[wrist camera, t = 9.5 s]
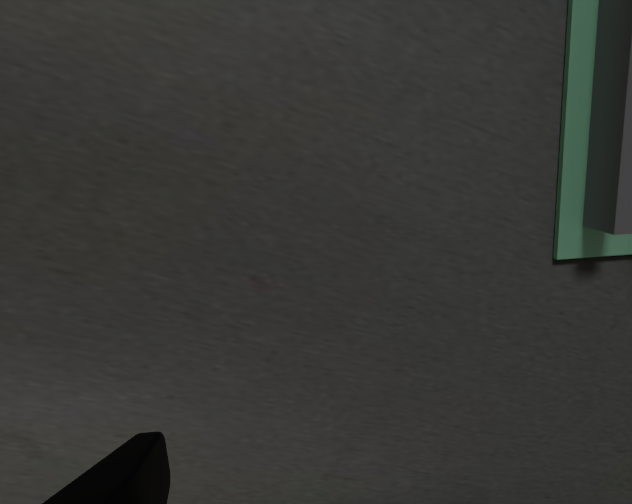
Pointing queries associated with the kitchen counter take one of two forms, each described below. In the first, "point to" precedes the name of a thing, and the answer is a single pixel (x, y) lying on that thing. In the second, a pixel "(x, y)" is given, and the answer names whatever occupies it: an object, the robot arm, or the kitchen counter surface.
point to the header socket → (596, 133)
